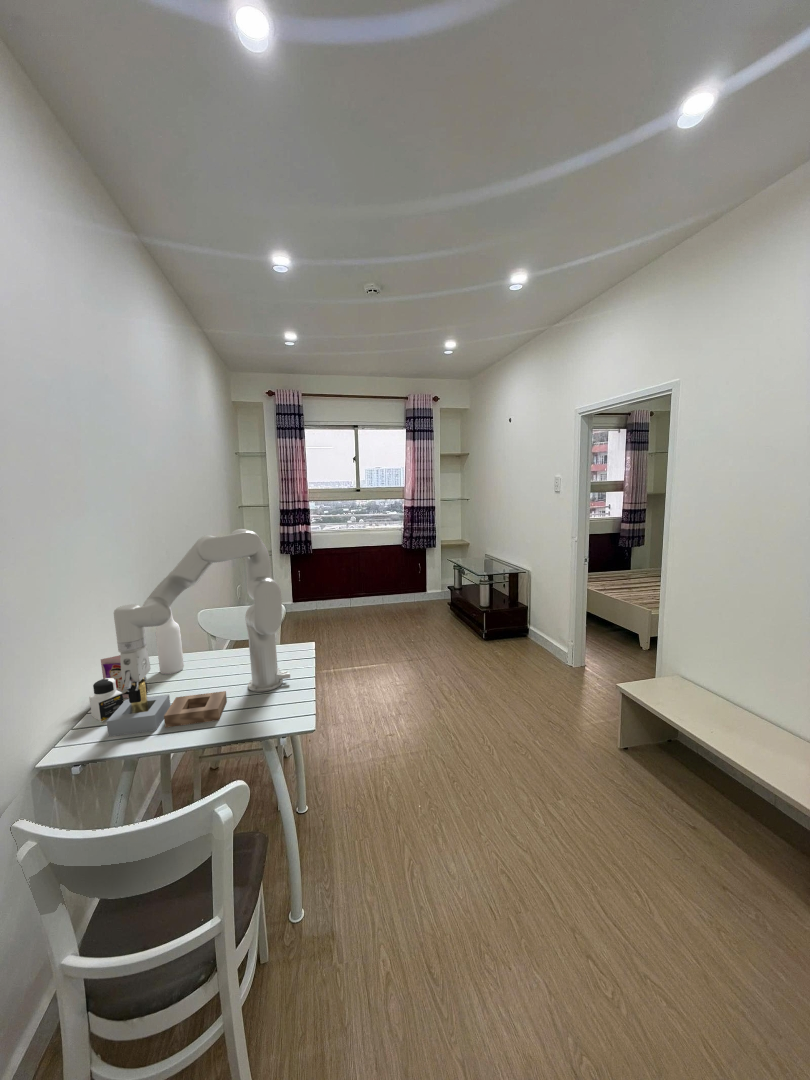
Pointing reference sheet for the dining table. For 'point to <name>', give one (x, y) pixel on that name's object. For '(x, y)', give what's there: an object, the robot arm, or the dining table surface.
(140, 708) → the brass axle
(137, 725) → the slate seat block
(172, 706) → the brown hollow frame
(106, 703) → the medicine bottle
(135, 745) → the dining table surface
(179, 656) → the alcohol
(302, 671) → the dining table surface
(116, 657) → the greeting card
